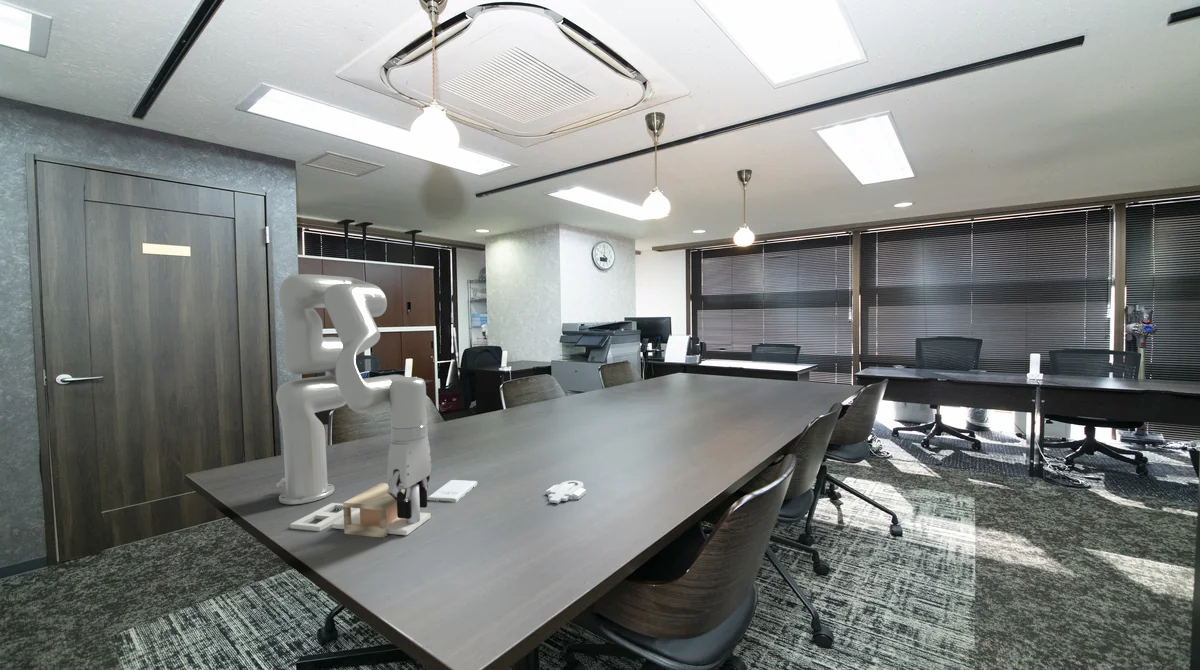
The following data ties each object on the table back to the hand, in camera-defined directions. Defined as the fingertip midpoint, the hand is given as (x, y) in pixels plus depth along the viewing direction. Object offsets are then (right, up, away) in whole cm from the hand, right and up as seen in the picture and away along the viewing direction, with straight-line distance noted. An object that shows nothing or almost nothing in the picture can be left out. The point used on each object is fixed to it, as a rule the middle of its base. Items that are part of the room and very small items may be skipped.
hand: (412, 511), depth 104 cm
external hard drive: (+3, -3, +20) cm, 21 cm away
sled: (-8, -4, +2) cm, 9 cm away
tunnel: (-8, -4, +2) cm, 9 cm away
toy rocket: (+34, -3, +18) cm, 39 cm away
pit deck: (-23, -4, +5) cm, 24 cm away
